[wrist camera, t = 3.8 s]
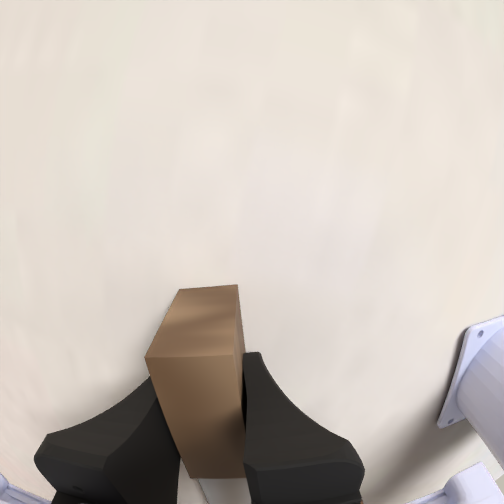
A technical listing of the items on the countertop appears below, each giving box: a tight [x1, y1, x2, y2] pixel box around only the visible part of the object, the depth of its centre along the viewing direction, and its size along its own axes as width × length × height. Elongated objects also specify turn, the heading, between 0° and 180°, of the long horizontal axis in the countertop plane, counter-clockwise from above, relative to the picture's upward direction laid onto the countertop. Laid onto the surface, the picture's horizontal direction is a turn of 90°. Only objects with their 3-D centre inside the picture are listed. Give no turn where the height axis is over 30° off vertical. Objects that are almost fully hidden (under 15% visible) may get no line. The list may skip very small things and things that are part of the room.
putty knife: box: [144, 285, 251, 504], centre depth 13 cm, size 5×22×5 cm, turn 5°
